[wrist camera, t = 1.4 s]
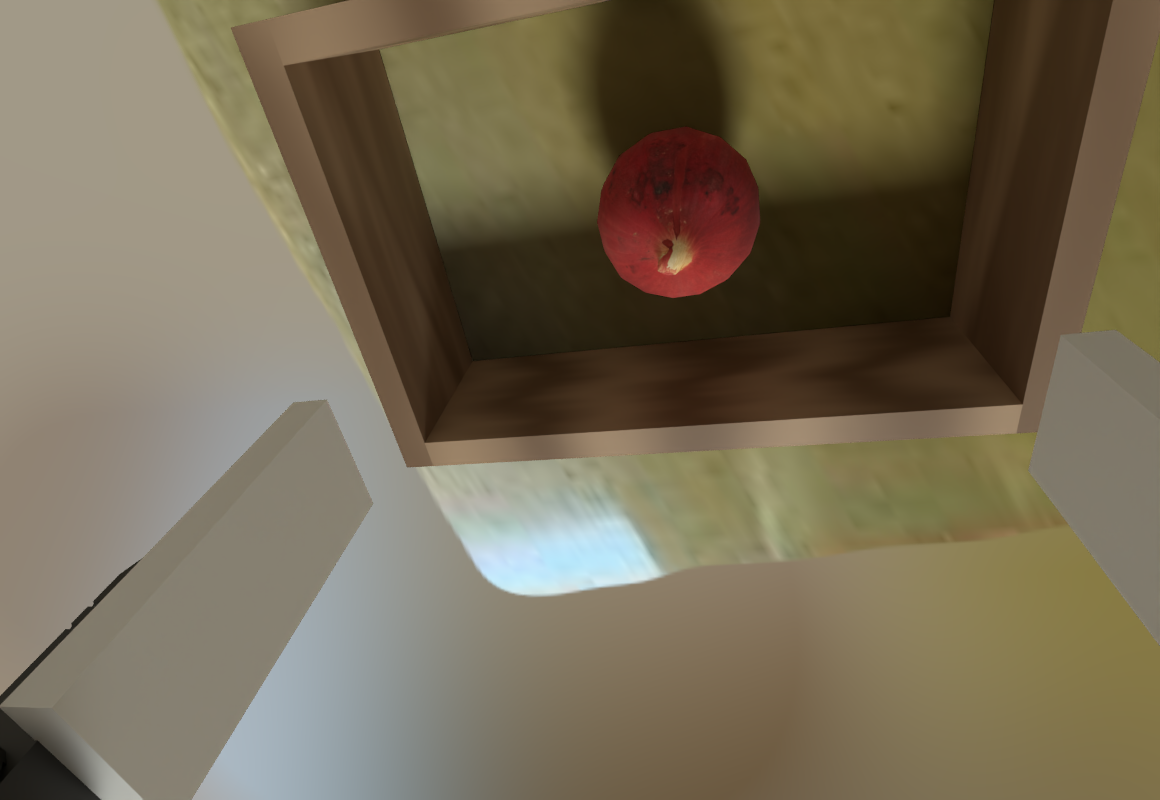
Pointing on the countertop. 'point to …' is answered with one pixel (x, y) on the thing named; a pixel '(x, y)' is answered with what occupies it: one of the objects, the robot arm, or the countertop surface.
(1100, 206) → the box
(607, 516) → the countertop surface
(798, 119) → the countertop surface
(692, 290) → the onion
